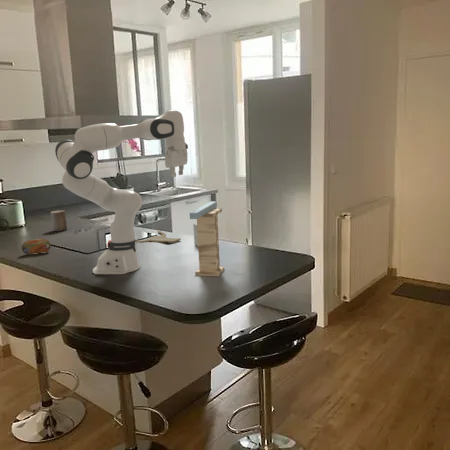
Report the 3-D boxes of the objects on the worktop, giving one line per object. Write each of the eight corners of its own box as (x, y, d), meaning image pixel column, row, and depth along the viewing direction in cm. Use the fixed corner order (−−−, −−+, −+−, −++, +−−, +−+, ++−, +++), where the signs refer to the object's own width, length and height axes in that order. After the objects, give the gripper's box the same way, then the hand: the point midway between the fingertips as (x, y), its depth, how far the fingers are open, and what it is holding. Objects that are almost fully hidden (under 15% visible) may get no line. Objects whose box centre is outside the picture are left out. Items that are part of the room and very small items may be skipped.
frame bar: (196, 219, 191) (196, 213, 190) (189, 218, 191) (189, 213, 191) (216, 206, 219) (216, 201, 218) (210, 206, 220) (210, 201, 219)
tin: (22, 256, 259) (20, 241, 258) (23, 254, 262) (21, 240, 261) (51, 252, 264) (49, 238, 262) (51, 251, 267) (49, 237, 265)
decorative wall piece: (193, 238, 288) (159, 233, 306) (193, 234, 287) (159, 229, 305) (158, 249, 264) (123, 243, 283) (158, 244, 264) (123, 238, 282)
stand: (217, 277, 207) (214, 213, 201) (193, 276, 210) (190, 213, 204) (225, 268, 220) (222, 208, 214) (203, 267, 223) (200, 208, 217)
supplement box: (211, 245, 266) (210, 223, 264) (200, 247, 262) (199, 225, 260) (204, 242, 272) (203, 221, 270) (194, 244, 268) (192, 223, 266)
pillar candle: (70, 229, 329) (67, 208, 326) (62, 231, 320) (59, 210, 317) (57, 229, 331) (55, 208, 328) (49, 232, 322) (47, 210, 319)
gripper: (173, 146, 205) (175, 178, 208) (189, 145, 225) (190, 173, 227) (160, 147, 207) (162, 178, 210) (176, 145, 226) (178, 173, 229)
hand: (177, 175), depth 219 cm, fingers open, 8 cm apart
